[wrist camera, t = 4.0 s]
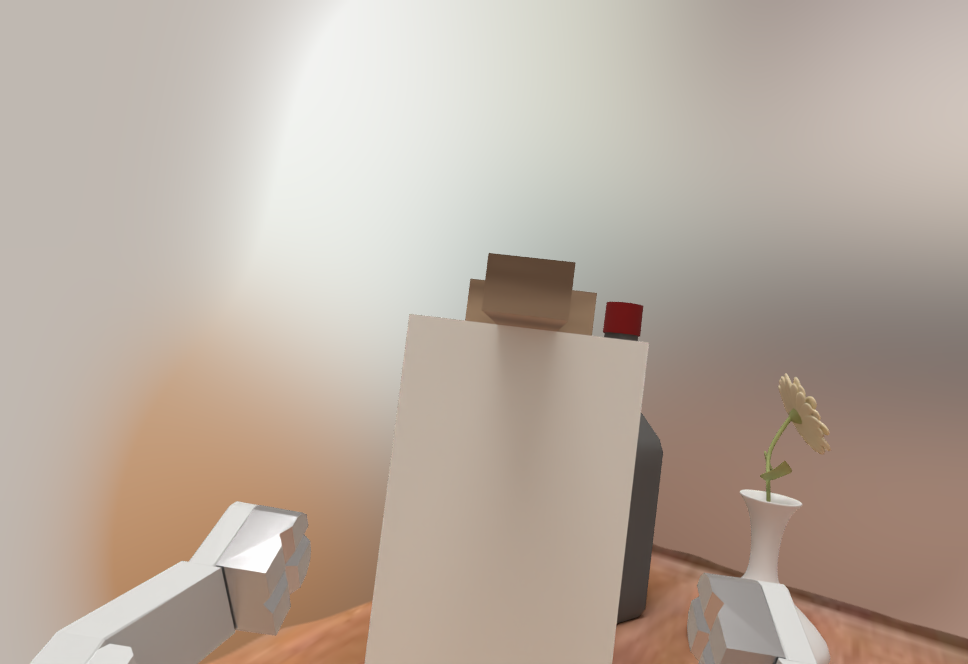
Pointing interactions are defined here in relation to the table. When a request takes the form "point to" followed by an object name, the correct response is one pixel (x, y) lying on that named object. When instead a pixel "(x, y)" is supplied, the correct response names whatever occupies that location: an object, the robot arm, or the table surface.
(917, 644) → the table surface
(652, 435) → the liquor
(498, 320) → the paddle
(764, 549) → the flower in vase
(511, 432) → the stand
